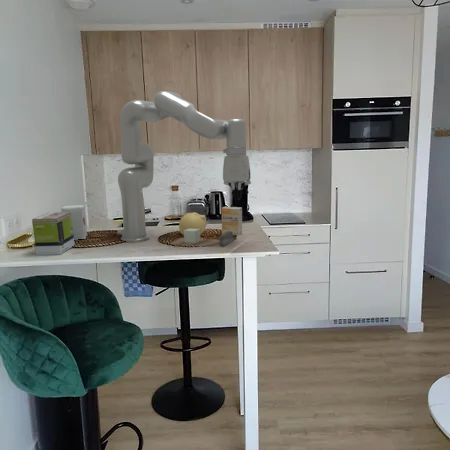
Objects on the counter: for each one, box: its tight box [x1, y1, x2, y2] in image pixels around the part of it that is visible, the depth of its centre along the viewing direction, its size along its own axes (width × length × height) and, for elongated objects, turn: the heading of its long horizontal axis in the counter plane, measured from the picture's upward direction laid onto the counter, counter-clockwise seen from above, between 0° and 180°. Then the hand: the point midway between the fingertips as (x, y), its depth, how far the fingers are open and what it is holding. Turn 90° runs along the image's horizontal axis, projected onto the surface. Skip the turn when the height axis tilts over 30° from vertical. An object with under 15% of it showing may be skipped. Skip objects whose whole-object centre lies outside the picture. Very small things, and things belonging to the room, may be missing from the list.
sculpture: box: [178, 212, 207, 236], centre depth 193 cm, size 12×12×11 cm
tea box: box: [31, 211, 76, 256], centre depth 171 cm, size 15×10×15 cm, turn 178°
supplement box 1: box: [60, 204, 88, 241], centre depth 193 cm, size 9×9×15 cm
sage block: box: [183, 228, 201, 243], centre depth 176 cm, size 5×5×5 cm
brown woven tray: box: [168, 231, 234, 248], centre depth 175 cm, size 24×12×5 cm, turn 70°
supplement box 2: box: [221, 206, 243, 236], centre depth 190 cm, size 8×5×13 cm, turn 68°
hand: (237, 199), depth 167 cm, fingers closed
